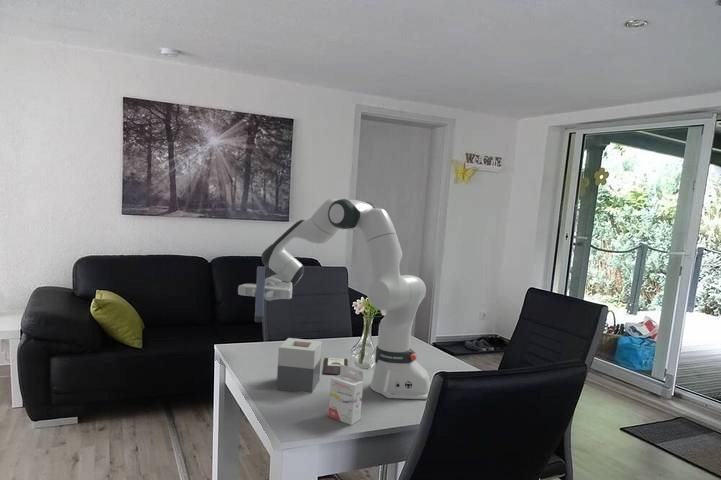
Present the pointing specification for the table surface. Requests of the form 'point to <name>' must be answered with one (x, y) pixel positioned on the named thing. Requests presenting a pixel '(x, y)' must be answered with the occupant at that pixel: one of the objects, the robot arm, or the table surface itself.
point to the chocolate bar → (333, 366)
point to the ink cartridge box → (346, 395)
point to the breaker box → (299, 365)
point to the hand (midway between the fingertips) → (259, 294)
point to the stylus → (260, 294)
